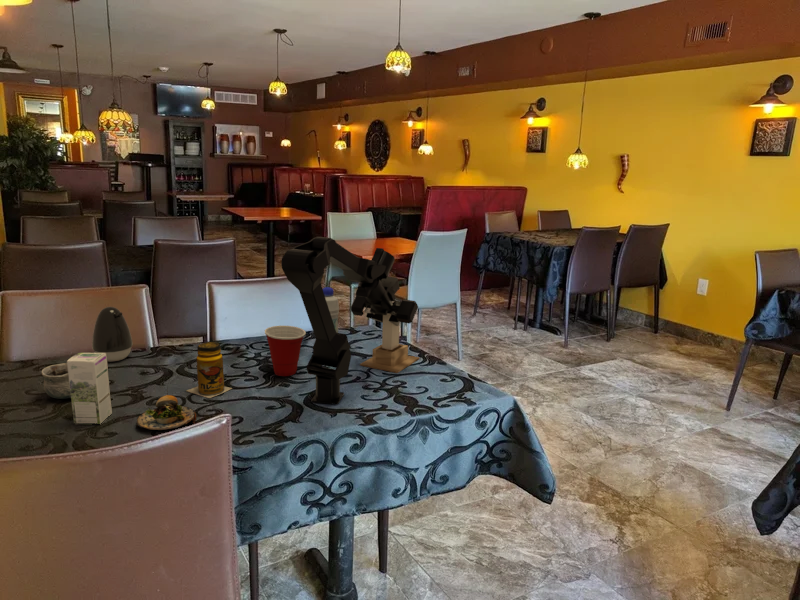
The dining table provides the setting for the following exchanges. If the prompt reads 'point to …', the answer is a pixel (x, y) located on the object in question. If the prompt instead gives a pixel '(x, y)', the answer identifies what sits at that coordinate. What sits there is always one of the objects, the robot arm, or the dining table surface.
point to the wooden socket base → (390, 359)
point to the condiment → (209, 371)
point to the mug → (57, 381)
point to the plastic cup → (284, 348)
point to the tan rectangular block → (389, 334)
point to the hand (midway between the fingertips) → (393, 323)
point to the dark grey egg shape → (111, 335)
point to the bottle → (332, 305)
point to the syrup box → (89, 387)
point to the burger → (166, 415)
